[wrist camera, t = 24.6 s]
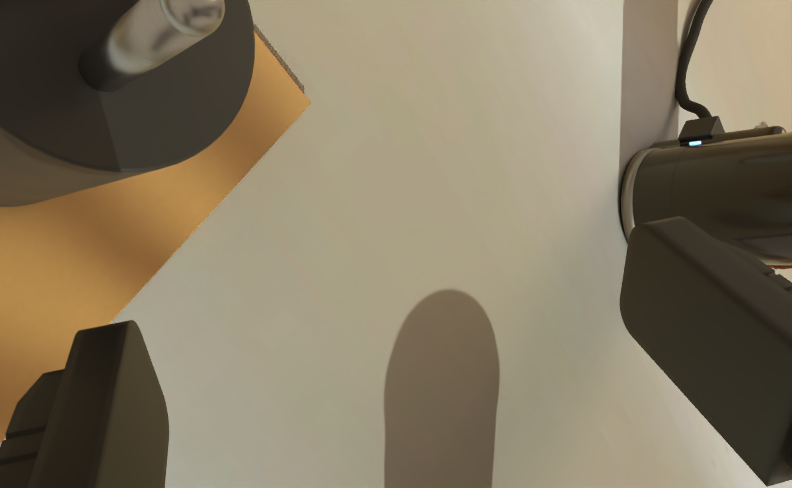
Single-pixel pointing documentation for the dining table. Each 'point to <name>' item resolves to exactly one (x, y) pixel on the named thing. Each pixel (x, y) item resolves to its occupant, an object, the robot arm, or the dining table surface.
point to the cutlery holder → (114, 88)
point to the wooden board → (119, 236)
